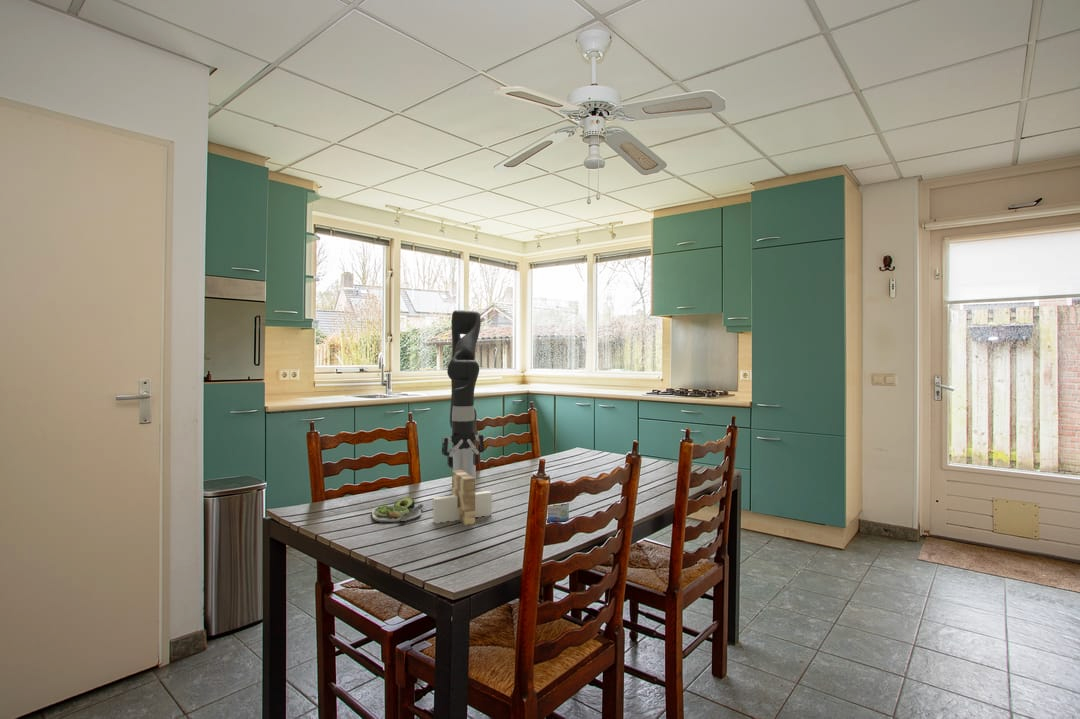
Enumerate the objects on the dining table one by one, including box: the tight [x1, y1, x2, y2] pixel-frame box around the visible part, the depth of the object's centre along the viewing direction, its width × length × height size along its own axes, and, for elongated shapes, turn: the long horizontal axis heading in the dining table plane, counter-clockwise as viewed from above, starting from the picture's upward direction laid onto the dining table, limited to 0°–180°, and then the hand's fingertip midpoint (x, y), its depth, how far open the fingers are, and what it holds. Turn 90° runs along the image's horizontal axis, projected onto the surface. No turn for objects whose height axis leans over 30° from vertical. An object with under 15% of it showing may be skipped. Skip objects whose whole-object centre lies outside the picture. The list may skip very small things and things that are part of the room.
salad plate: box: [371, 497, 424, 523], centre depth 187 cm, size 19×18×5 cm
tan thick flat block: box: [451, 470, 476, 526], centre depth 185 cm, size 14×4×15 cm, turn 27°
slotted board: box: [432, 490, 493, 524], centre depth 185 cm, size 2×20×8 cm, turn 117°
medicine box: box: [546, 502, 570, 523], centre depth 184 cm, size 8×4×9 cm, turn 99°
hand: (463, 466), depth 184 cm, fingers open, 8 cm apart
